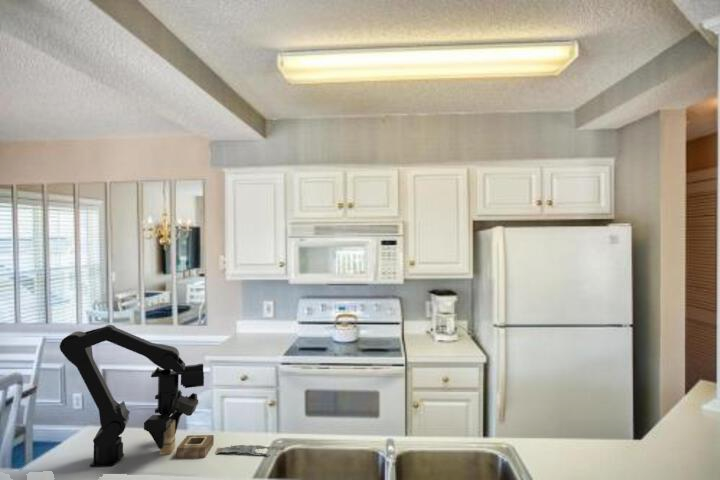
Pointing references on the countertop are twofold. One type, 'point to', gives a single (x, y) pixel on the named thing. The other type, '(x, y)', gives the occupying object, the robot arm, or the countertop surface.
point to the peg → (169, 439)
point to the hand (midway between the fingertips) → (167, 441)
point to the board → (195, 446)
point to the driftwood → (247, 449)
